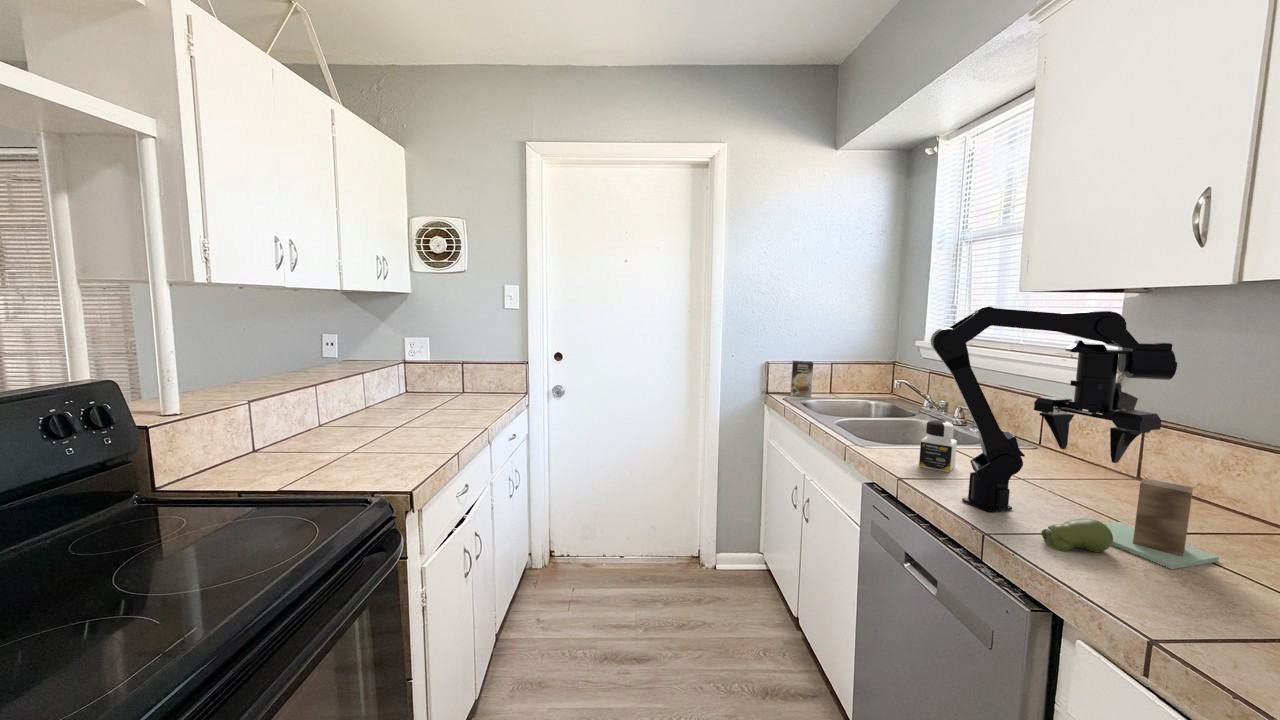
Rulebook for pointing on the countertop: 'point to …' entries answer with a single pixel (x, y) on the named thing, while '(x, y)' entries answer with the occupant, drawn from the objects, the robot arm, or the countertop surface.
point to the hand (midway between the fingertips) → (1087, 455)
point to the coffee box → (801, 379)
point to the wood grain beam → (1162, 516)
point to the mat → (1124, 540)
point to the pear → (1079, 535)
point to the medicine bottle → (938, 446)
